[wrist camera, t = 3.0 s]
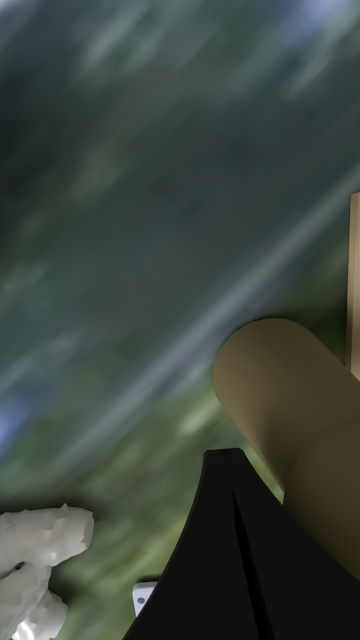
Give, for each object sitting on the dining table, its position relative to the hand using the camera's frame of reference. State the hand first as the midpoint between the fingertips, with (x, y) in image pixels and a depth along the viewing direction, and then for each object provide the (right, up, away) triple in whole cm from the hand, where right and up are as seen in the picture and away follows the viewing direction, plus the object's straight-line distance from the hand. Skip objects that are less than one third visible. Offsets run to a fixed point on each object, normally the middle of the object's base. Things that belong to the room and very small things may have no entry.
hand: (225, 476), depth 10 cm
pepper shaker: (+3, +2, +7) cm, 8 cm away
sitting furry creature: (-12, -9, +11) cm, 18 cm away
